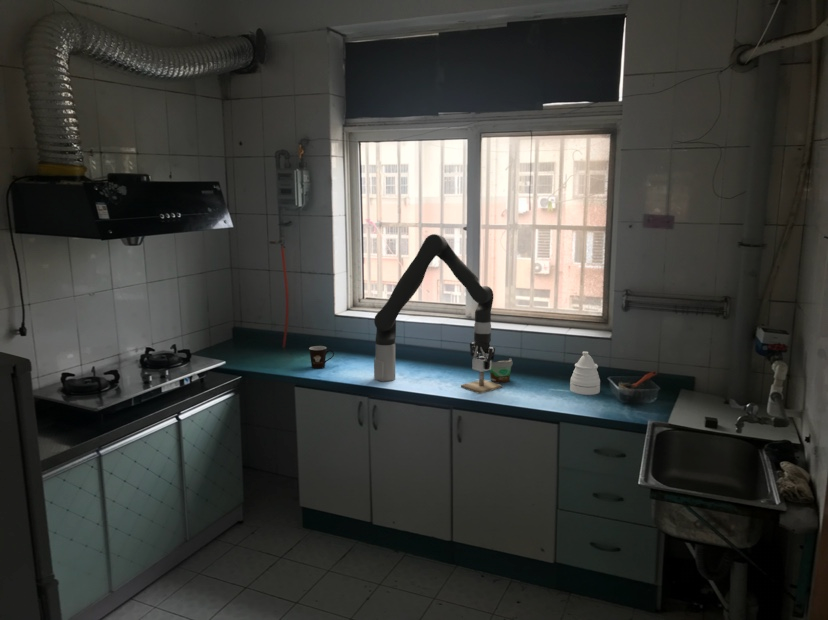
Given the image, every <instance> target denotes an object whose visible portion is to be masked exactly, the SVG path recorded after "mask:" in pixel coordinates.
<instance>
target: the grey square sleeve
mask: <svg viewBox="0 0 828 620" xmlns="http://www.w3.org/2000/svg"><path fill="white" fill-rule="evenodd" d="M487 359H488V357H487ZM471 365H472V370H473V371H478V372H480V371H481V372H487V371H490V370H491V361H490V368H489V369H487V370H486V369H485V358H484V357H483V355H481V356H480V355H479V357H476V358H474V357H472V364H471Z"/></svg>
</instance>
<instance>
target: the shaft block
mask: <svg viewBox="0 0 828 620" xmlns="http://www.w3.org/2000/svg"><path fill="white" fill-rule="evenodd" d="M478 372H479V374H478V376H479V377H478V380H476V381H472V382H468V383H463V384H461V385H460V387H461V388H462V389H466V390H469V391H472V392H474V393H477V394H483V393H487V392H490V391H494V390H498V389H501V388H503V385H502V384H500V383H495V382H491V380H490V381H489V380H486V379H485V371H483V372H481V371H478Z"/></svg>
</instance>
